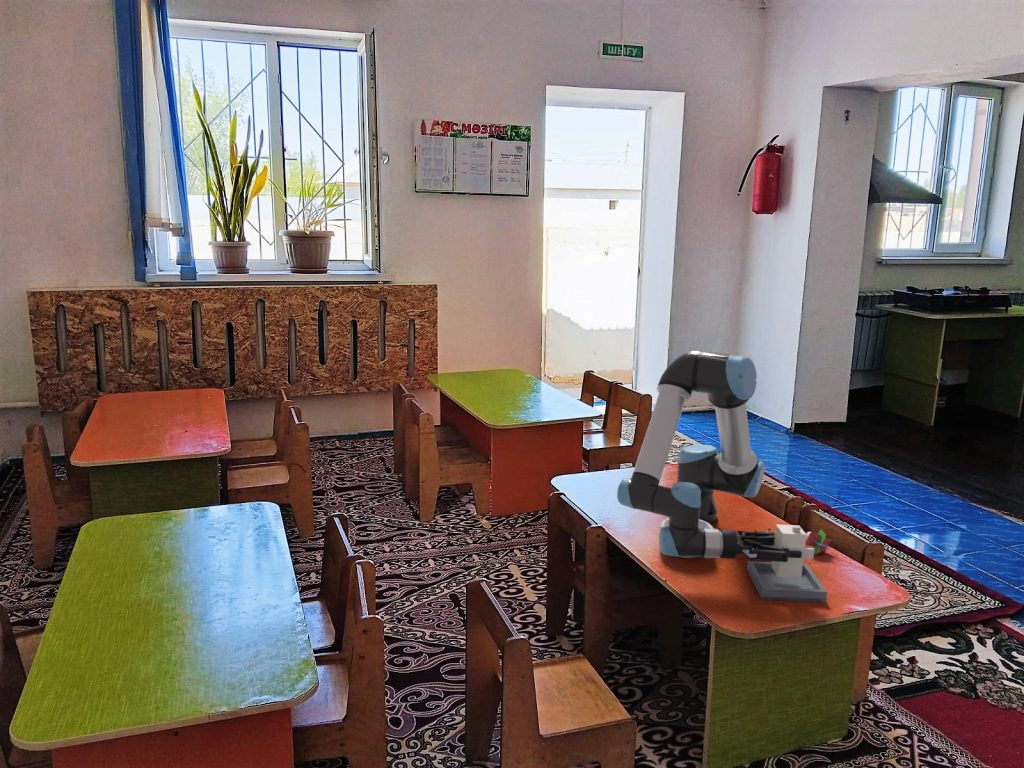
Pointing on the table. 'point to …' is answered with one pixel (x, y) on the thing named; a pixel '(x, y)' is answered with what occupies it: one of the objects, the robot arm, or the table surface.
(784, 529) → the carton
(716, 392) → the robot arm
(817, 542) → the geometric puzzle
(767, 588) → the tray
